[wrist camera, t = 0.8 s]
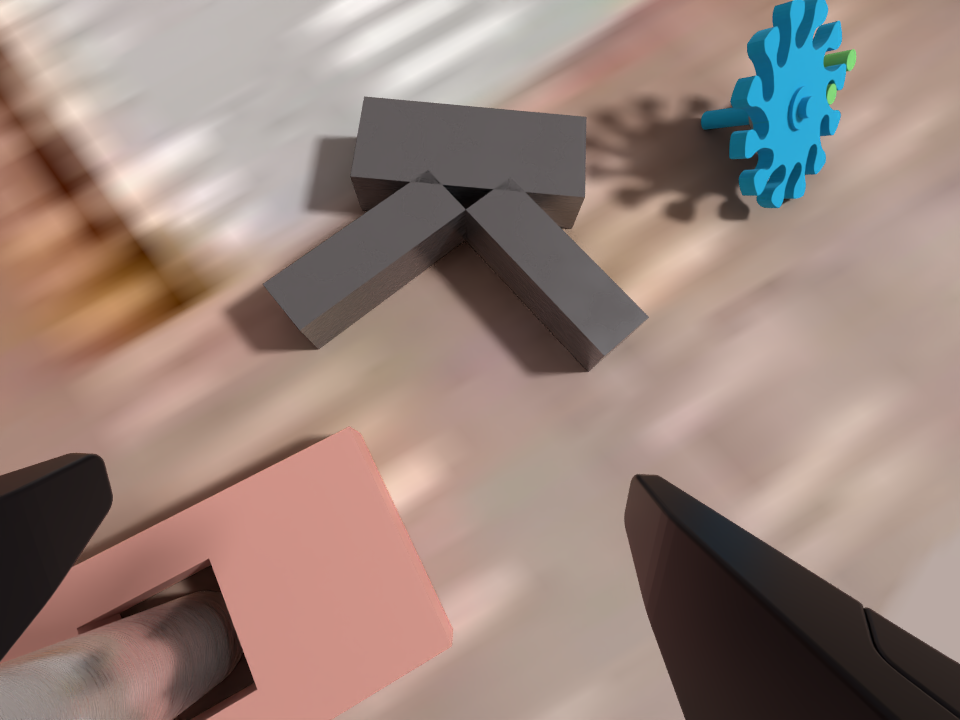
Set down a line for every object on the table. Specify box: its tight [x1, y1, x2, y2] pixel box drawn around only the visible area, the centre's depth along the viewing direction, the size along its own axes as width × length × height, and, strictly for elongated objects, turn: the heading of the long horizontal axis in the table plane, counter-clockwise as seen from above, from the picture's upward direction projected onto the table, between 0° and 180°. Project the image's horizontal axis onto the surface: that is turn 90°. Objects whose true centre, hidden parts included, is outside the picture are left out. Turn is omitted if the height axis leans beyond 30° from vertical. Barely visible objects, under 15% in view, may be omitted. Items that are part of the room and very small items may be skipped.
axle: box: [0, 591, 243, 720], centre depth 15 cm, size 4×4×13 cm
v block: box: [263, 97, 649, 372], centre depth 25 cm, size 13×18×3 cm
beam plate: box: [0, 427, 453, 720], centre depth 20 cm, size 20×10×2 cm, turn 118°
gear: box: [701, 0, 856, 208], centre depth 27 cm, size 11×6×10 cm
